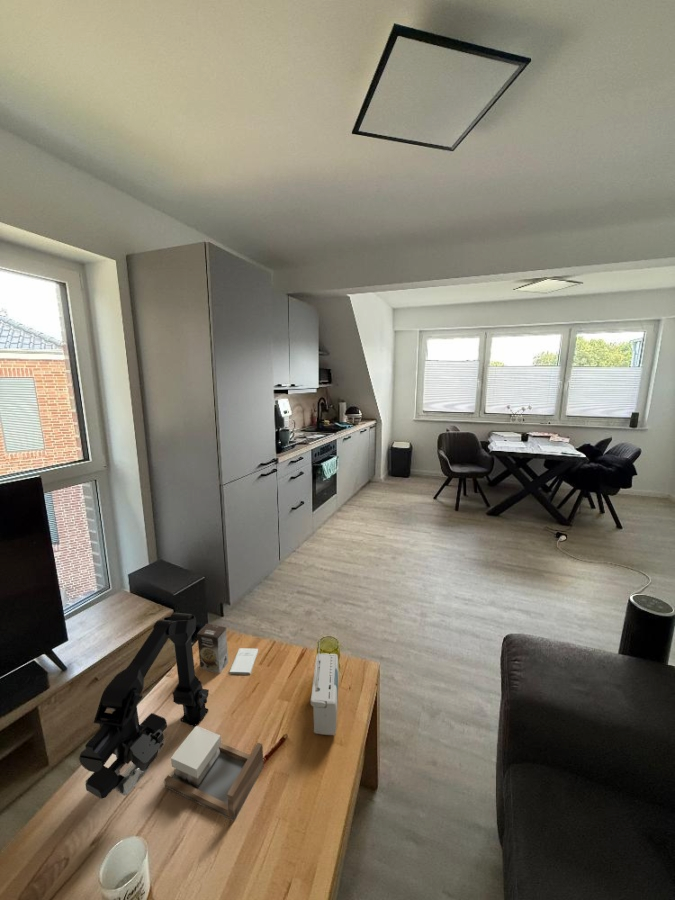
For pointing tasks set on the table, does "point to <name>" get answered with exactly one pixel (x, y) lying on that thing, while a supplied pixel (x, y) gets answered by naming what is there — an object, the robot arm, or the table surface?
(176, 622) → the robot arm
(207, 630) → the coffee box
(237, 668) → the external hard drive
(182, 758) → the slab
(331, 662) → the stereo radio cassette player
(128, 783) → the loose roller
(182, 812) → the table surface
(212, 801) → the track
